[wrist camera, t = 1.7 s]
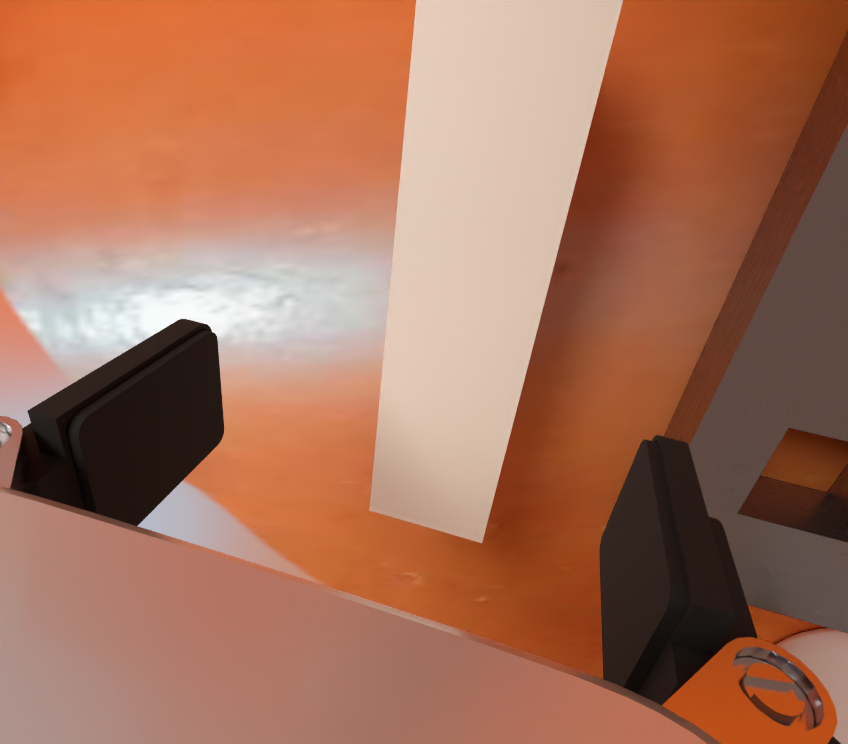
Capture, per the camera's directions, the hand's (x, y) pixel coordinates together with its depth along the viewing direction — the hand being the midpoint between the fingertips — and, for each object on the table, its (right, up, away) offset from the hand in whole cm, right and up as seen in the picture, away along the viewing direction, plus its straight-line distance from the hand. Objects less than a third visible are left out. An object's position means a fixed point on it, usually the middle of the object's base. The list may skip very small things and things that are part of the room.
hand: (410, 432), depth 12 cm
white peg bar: (+3, +7, +10) cm, 13 cm away
